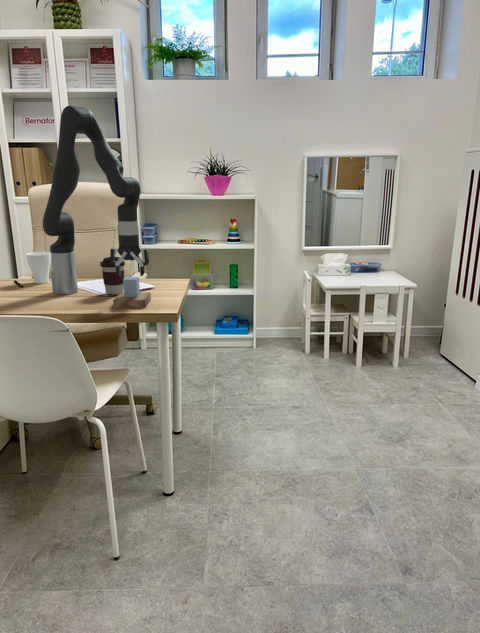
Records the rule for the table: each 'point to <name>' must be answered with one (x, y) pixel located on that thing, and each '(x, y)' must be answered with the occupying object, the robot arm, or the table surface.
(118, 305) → the base
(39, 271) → the cup
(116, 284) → the coffee cup
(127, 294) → the block
